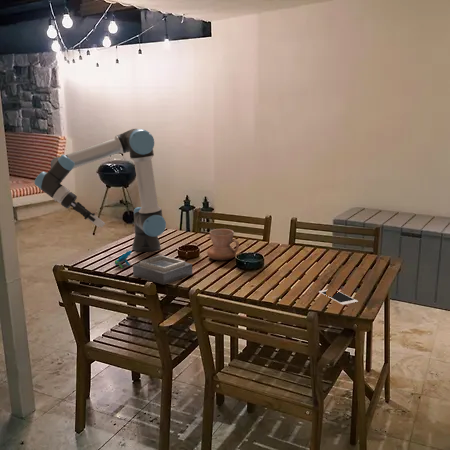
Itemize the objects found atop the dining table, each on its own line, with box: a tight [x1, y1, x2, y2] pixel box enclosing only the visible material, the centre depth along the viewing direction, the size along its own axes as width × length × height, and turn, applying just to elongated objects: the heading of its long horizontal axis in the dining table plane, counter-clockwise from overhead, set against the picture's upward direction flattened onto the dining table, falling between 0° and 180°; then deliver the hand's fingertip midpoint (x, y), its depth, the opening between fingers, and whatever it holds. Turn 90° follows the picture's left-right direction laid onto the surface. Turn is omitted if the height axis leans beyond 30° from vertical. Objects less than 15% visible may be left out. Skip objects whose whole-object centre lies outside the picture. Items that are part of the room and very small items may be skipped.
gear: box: [114, 250, 132, 269], centre depth 241 cm, size 11×6×10 cm
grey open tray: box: [132, 254, 193, 286], centre depth 227 cm, size 18×20×6 cm
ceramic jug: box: [206, 228, 240, 261], centre depth 251 cm, size 18×14×14 cm
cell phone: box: [318, 289, 359, 306], centre depth 200 cm, size 8×16×1 cm, turn 25°
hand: (102, 225), depth 235 cm, fingers open, 13 cm apart
